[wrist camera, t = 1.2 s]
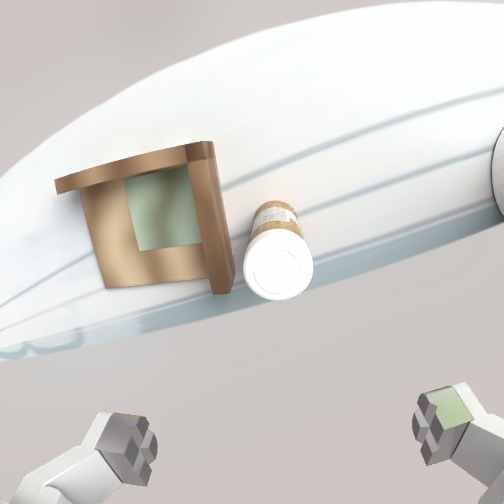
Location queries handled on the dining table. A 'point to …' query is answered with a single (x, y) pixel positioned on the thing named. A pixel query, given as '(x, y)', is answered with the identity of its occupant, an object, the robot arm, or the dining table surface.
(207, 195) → the corner arena
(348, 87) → the dining table surface
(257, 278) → the sprinkles bottle
